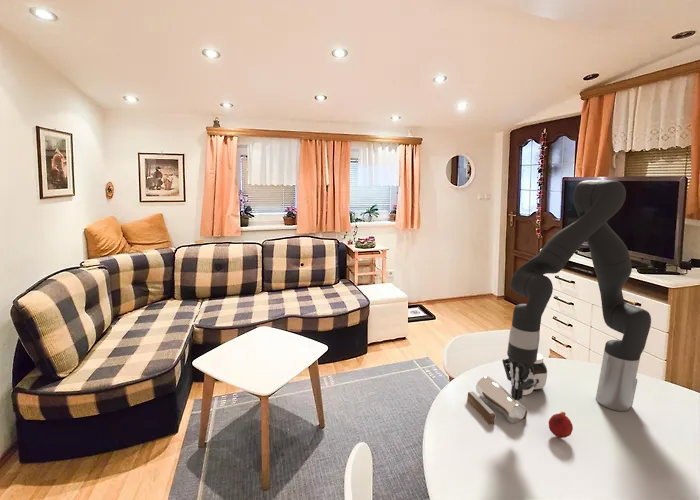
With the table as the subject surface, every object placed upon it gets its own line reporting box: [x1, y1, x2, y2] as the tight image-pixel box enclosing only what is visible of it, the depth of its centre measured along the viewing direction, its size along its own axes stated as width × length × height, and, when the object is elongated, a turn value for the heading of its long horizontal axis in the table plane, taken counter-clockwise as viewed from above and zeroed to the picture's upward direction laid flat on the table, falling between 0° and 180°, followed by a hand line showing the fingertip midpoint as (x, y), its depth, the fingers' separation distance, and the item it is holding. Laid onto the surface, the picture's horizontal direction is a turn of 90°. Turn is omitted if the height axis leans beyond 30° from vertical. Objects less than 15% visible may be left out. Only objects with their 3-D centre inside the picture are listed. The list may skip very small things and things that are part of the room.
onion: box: [548, 411, 574, 439], centre depth 106 cm, size 6×6×8 cm
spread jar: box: [522, 352, 548, 396], centre depth 130 cm, size 12×11×12 cm
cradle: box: [466, 391, 528, 426], centre depth 118 cm, size 13×12×3 cm
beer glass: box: [475, 375, 526, 424], centre depth 119 cm, size 7×7×15 cm
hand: (516, 398), depth 109 cm, fingers closed
